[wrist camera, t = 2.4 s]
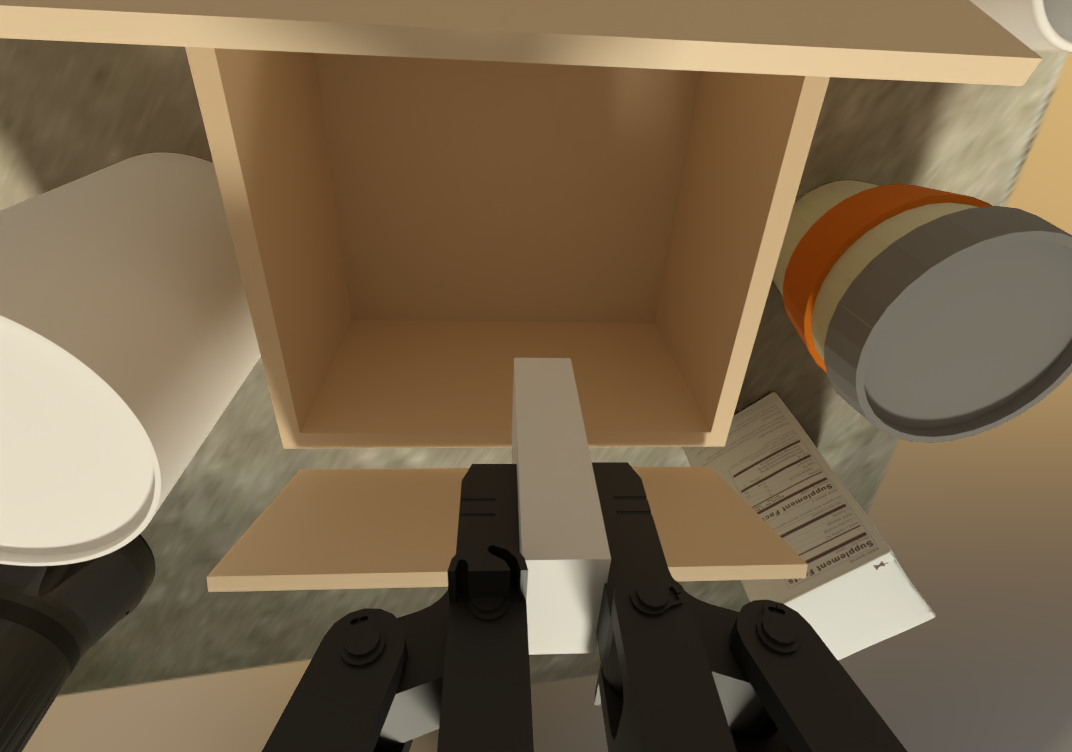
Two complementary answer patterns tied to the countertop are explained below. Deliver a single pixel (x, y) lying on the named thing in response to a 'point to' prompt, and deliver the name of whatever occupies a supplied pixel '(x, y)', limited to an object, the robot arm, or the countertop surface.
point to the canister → (112, 351)
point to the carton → (501, 237)
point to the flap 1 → (572, 33)
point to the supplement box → (815, 532)
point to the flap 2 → (432, 525)
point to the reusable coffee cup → (928, 305)
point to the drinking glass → (1034, 22)
